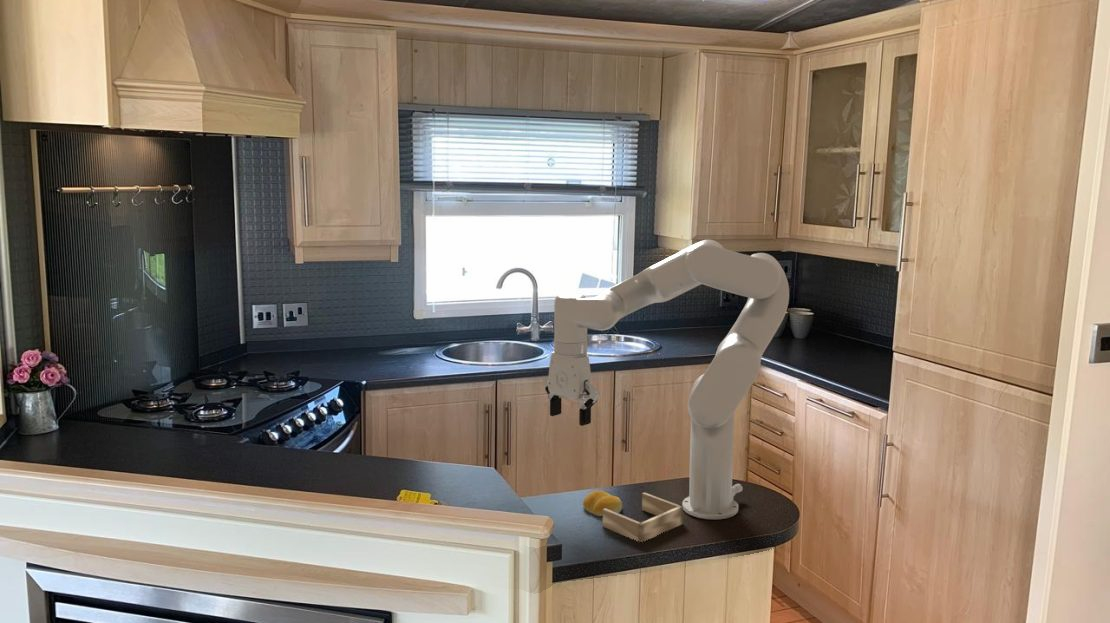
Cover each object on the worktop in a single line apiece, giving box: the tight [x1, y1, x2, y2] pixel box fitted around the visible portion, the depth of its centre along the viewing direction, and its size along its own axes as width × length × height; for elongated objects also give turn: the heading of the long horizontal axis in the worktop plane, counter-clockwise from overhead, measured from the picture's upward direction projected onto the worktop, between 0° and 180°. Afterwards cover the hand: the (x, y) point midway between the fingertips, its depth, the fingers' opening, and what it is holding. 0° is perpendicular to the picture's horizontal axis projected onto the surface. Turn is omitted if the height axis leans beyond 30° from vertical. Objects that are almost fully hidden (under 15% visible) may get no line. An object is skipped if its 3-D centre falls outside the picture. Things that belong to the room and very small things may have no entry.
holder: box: [602, 492, 684, 543], centre depth 189 cm, size 14×11×4 cm
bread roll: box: [582, 490, 623, 517], centre depth 197 cm, size 8×9×4 cm
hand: (570, 419), depth 201 cm, fingers open, 9 cm apart
